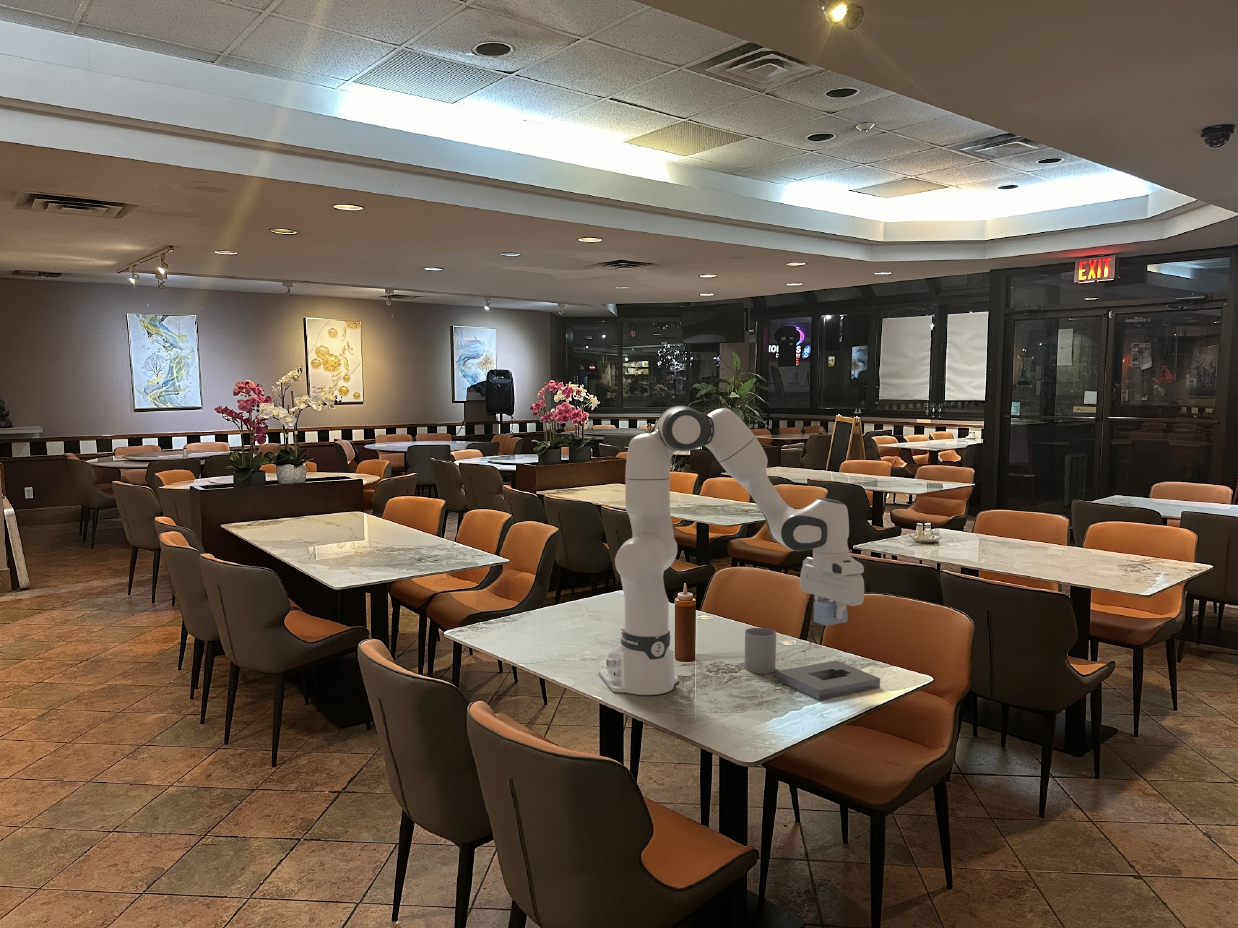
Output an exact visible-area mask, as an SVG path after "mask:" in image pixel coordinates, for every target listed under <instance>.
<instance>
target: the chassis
mask: <svg viewBox="0 0 1238 928" xmlns="http://www.w3.org/2000/svg"><path fill="white" fill-rule="evenodd" d="M776 680H777V681H778V682H780V683H782V684H783V685H784V684H785V685H786V686H789V687H790V688H793V689H795V690H797V692H798V691H799V692H801V693H802V694H805V695H807V696H809V697H811V698H813V699H815V700H817V701H822V700H829V699H833V698H837V697H841V696H847V695H852V694H857V693H862V692H866V691H871V690H876V689H880V688H881V677H878V676H875V675H873V674H870V673H868V672H866V671H863V670H860V669H858V668H856V667H855V666H854V667H853V666H851V665H848V664H847V663H843V662H841V661H838V660H831V661H825V662H820V663H815V664H809V665H803V666H796V667H791V668H786V669H785V668H784V669H779V670H777V674H776Z"/></svg>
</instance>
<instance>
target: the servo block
mask: <svg viewBox="0 0 1238 928" xmlns="http://www.w3.org/2000/svg"><path fill="white" fill-rule="evenodd" d="M837 608H838V606H837V605H836V601H833V600H830V599H827V600H823V601H819V602H816V601H814V602H813V622H814V623H817V624H820V625H822V626H825V627H826V626H832V625H836V624H837V625H839V624H845V623H847V622H848V620H849V612H848V605H847V606H846V608H845V610H844V611H843V618H842V619H836V618H834V611H836V610H837Z"/></svg>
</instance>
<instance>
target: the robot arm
mask: <svg viewBox="0 0 1238 928" xmlns="http://www.w3.org/2000/svg"><path fill="white" fill-rule="evenodd" d="M745 423H746V422H744V421H743V420H742V419H741V418H740V417H739V416H738V415H737V414H736V413H735V412H734V411H732V410H731V409H729V408H726V407H721V408H717V409H714V410H712V411H710V412H708V414H706V413H703V412H701V411H699V410H696V409H694V408H692V407H689V406H687V405H686V406H685V405H676V406H672V407H669V408H667V409H666V410H664V411H663V412H662V413H661V414H660V415H659V417H658V418H657V419H656V422H655V424H654V426H653V428H652V429H651V431H650V432H646V433H641V434H638V435H636V436H634V437H632V438H631V440H630V441H629V444H628V447H627V448H628V449H627V454H626V463H625V476H624V477H625V486H624V487H625V491H624V492H625V511H626V513H627V514H628V517H629V521H630V526H631V532H632V533H631V534H632V537H631V538H628V539H627V540H626V541H625V542H623V544H622V545H621V546H620V547H619V549H618V551H617V552H616V555H615V558H614V564H615V569H616V571H617V572H618V575H620V581H621V587H622V593H623V596H624V628H623V629H620V631H621V632H620V634H621V639H620V643H619V644H618V645H617V646H615V647H614V648H613V649H612V650H611V651H610V652H609V653H608V656H607V659H606V663H605V664H606V666H605V667H603V668H600V669H598V675H599V676H600V678H601V679H602V680H603V682H605V684H606V685H607V686H608V687H609V689H610V690H611V691H612V692H614V693H627V694H632V695H639V696H652V695H662V694H666V693H668V692H670V691H672V690H673V689H674V687H675V684H677V683H678V682H679V676H677V675H675V674H676V673H675V660H674V659H675V658H674V651H673V650H672V649H671V648H670V646H671V632H670V631H671V630H669V622H670V621H669V618H670V617H669V613H670V608H669V607H670V601H669V598H668V597H667V594H666V589H665V583H664V582H665V581H664V572H665V571H666V570H667V569H669V568H670V567H672V565H673V564H674V562H675V559H676V557H677V554H678V543H677V540H676V539H675V534H674V533H675V532H674V528H673V527H674V526H673V520H672V515H671V504H670V503H671V494H670V493H671V491H670V490H671V486H670V485H671V479H670V473H671V472H670V467H671V466H670V465H671V460H672V458H673V456H674V454H675V453H676V452H678V451H679V452H689V451H691V452H692V451H693V450H696V449H700V448H702V447H706V448H707V449H708V450H709V451H710V452H711V454H712V455H713V456H714V457H715V459H716V461H717V462H718V463H719V464H720V466H721V467H722V468H723V469H724V470H725V472H726V473H727V474H728V475H729V476H731V478H733V480H734V481H735V482H737V483H738V484H739V485H740V486H741V487H742V488H744V489H745V490H746V491H747V493H748V494H749V495H750V497H751V499H752V500H753V501H754V503H755V504H756V506H758V507H757V508H758V509H759V510H760V512H761V513H762V514H763V517H764V520H765V522H766V527H767V528H766V529H767V532H768V534H769V536H770V538H771V539H772V540H773V541H774V542H775V543H777V544H780V545H782V546H785V547H786V548H787V549H789V550H792V551H795V552H801V551H802V552H803V551H808V550H812V557H811V556H807V557H805V558H804V560H802V567H801V570H800V575H799V577H800V579H799V588H800V590H801V592H804V593H808V594H810V595H814V602H819V601H824V599H827V600H833V601H836V605H837V606H838V608H837V610H836V611H834V618H836V619H842V618H843V611H844V610H845V608H846V606H847V607H848V606H851V607H857V606H860V605H862V604H863V603H864V601H865V580H864V577H863V575H862V574H863V573H864V571H865V569H864V568H865V566H864V565H863V564H862V563H861V562H859V561H857V560H856V559H854V558H853V557H852V556H851V555H849V554H850V553H849V551H850V548H849V546H848V538H849V536H850V522H849V521H850V519H849V512H848V507H847V506H846V504H845V503H844V502H842V501H840V500H836V499H833V498H828V497H827V498H826V497H819V498H817V499H815V500H814V501H813V502H812V503H810V504H808V505H807V506H805V507H802V508H801V509H798V510H797V509H796V508H794V507H793V506H792V505H789V504H788V503H786V502H785V501H784V499H783V498H782V496H781V495H780V494H779V492H778V491H777V489H776V488H775V487H774V485H773V483H772V482H771V480H770V479H769V476H768V474H767V467H768V456H767V454H766V451H765V450H764V448H763V447H762V445H761V443H760V441H759V440H758V438H757V437H756V436H755V434H754V433H753V431H752V430H751V429H750V428H749V427H748V426H747V424H745Z"/></svg>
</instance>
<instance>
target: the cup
mask: <svg viewBox="0 0 1238 928" xmlns="http://www.w3.org/2000/svg"><path fill="white" fill-rule="evenodd" d="M776 651H777V631H776V630H774V629H770V628H765V627H750V628H747V629H745V630H744V658H743V659H744V660H743V661H744V666H743V667H744V669H745V670H746V671H748V672H751V673H756V674H769V673H773V672H775V671H776V659H777V657H776V654H777V653H776Z"/></svg>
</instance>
